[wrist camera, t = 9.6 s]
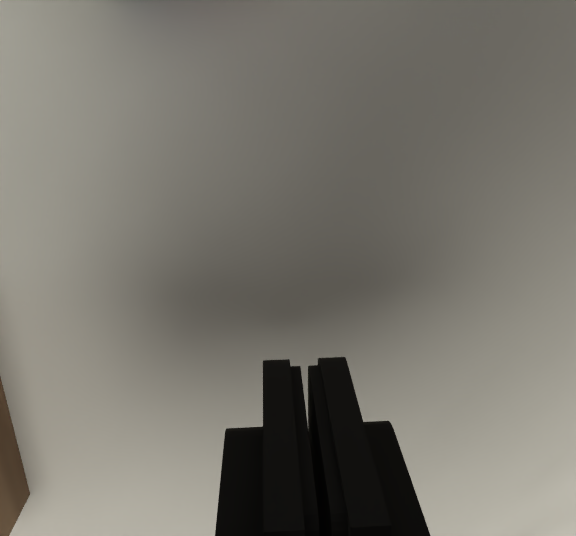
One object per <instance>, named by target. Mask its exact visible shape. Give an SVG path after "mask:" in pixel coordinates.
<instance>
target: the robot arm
mask: <svg viewBox="0 0 576 536" xmlns="http://www.w3.org/2000/svg"><path fill="white" fill-rule="evenodd" d="M215 536H430V533H429V530H428V527H427V525H426V522H425V519H424V516H423V513H422V510H421V507H420V504H419V501H418V499H417V496H416V493H415V490H414V487H413V484H412V481H411V478H410V476H409V473H408V470H407V467H406V464H405V461H404V458H403V455H402V452H401V450H400V447H399V444H398V441H397V438H396V435H395V432H394V429H393V427H392V425H391V423H390V422H389V421H377V422H363V420H362V416H361V412H360V409H359V405H358V401H357V398H356V394H355V390H354V386H353V383H352V379H351V375H350V372H349V368H348V364H347V361H346V358H345V357H335V358H318V365H315V366H308V426H307V417H306V409H305V401H304V393H303V384H302V376H301V368H300V366H292V367H290V360H289V359H288V360H264V361H263V427H250V428H229V429H226V431H225V439H224V449H223V460H222V470H221V481H220V491H219V502H218V512H217V522H216V533H215Z"/></svg>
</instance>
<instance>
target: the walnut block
mask: <svg viewBox="0 0 576 536" xmlns="http://www.w3.org/2000/svg"><path fill="white" fill-rule="evenodd" d="M29 495H30V492H29V488H28V484H27V480H26V476H25V472H24V468H23V464H22V460H21V456H20V452H19V448H18V445H17V441H16V437H15V433H14V429H13V425H12V421H11V417H10V413H9V409H8V405H7V401H6V397H5V393H4V389H3V386H2V382H1V378H0V536H9V535H10V533H11V531H12V529H13V527H14V525H15V523H16V521H17V519H18V517H19V515H20V513H21V511H22V509H23V507H24V505H25V503H26V501H27V499H28V497H29Z"/></svg>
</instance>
